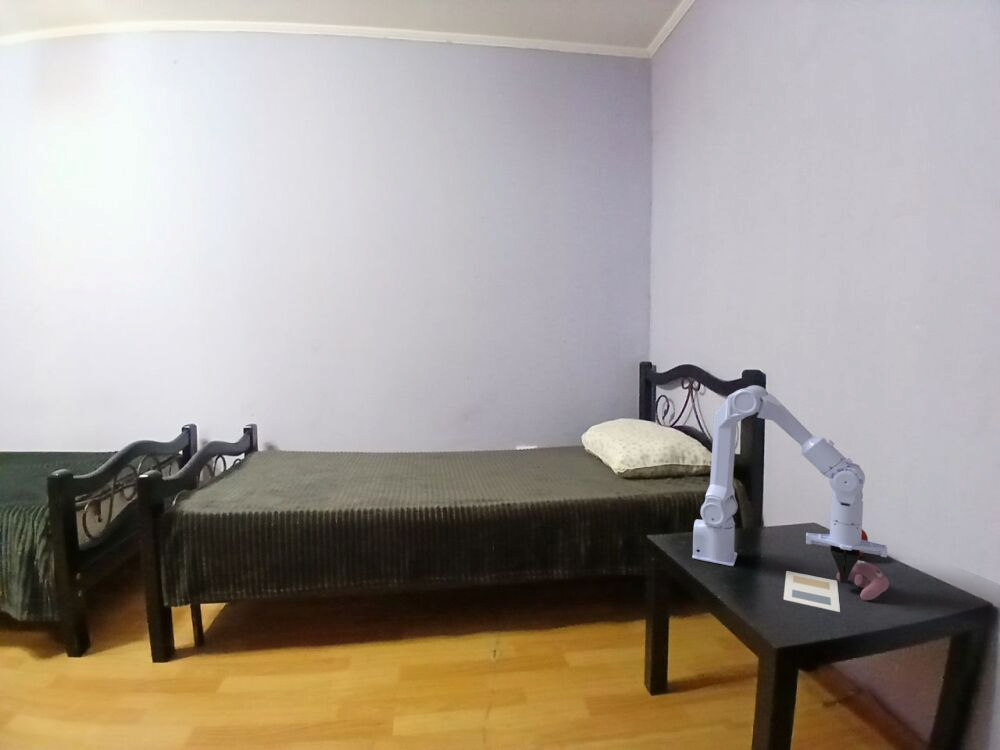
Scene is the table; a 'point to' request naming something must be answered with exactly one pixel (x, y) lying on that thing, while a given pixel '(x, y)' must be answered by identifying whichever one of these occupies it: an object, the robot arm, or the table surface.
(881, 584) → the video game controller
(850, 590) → the table surface
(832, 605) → the label card
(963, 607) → the table surface
